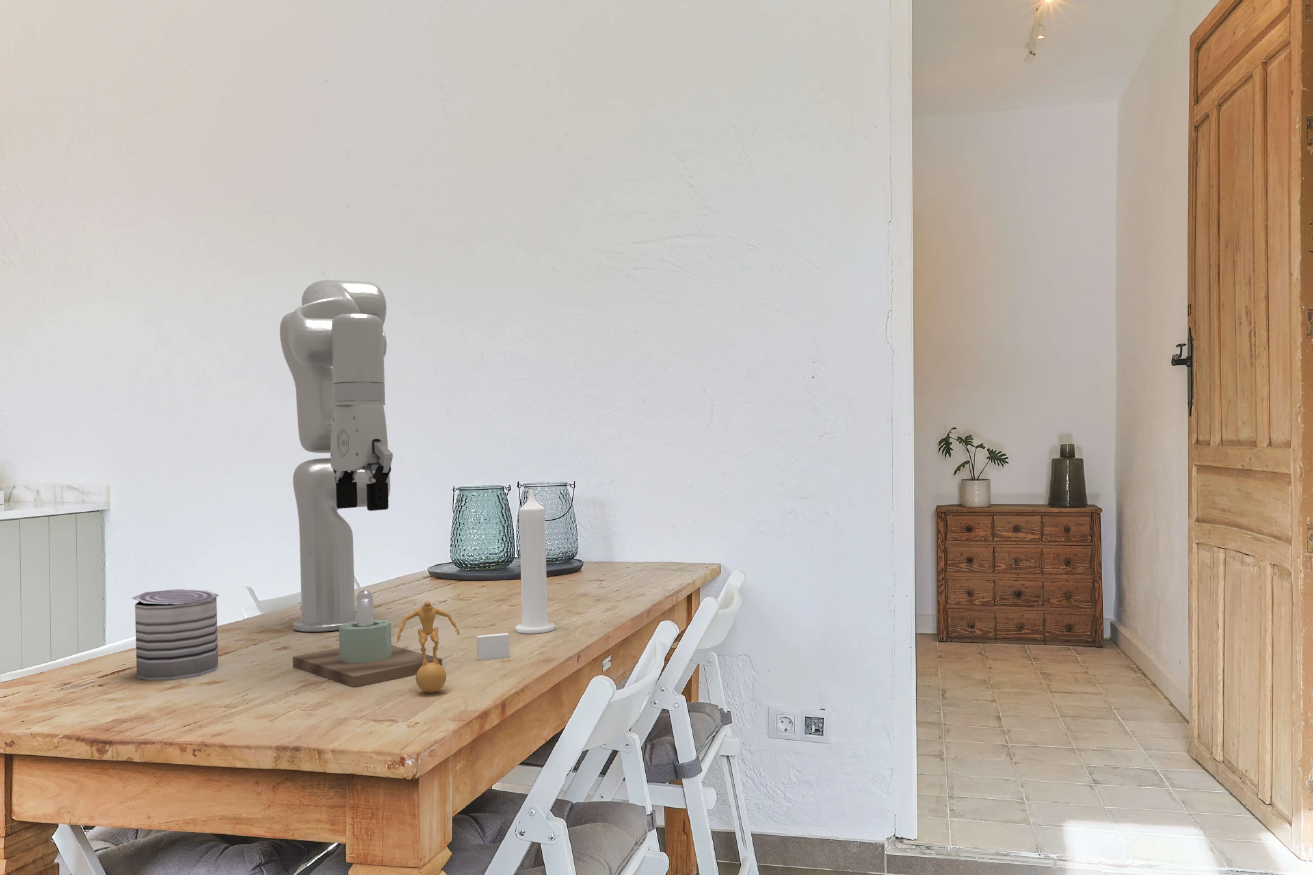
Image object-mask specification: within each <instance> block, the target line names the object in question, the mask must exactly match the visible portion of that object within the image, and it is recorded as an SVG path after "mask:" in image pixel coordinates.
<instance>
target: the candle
mask: <svg viewBox="0 0 1313 875" xmlns="http://www.w3.org/2000/svg"><path fill="white" fill-rule="evenodd" d="M518 514H519V516H518V517H519V518H518V519H519V522H518V523H519V550H520V551H519V553H520V557H519V558H520V587H521V591H520V592H521V622H522V623H519V624H517V625H515V627H514V629H515V630H514V631H515V632H516V633H519V634H528V635H529V634H531V635H534V634H545V633H550V632H552V631H555V629H556V625H555V623H553V622H549V619H548V617H549V616H548V588H547V587H548V585H547V583H548V581H547V555H546V554H547V552H546V550H547V548H546V513H545V507H544V506H542V505H541V504H540V503H538V502H537V500H536V497H535V495H534V490H533V489H530V490H529V493H528V498H527V501H526V503H524V504H523V505H522V506H521V507H519V509H518Z"/></svg>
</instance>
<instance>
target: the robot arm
mask: <svg viewBox="0 0 1313 875" xmlns="http://www.w3.org/2000/svg"><path fill="white" fill-rule="evenodd" d="M386 316H387V302H386V297H385V294H384V292H383V290H382V289H381V288H380V287H379V286H378V285H377V284H376V283H373V282H369V281H357V280H356V281H355V280H352V281H351V280H336V279H335V280H333V279H331V280H330V279H327V280H325V279H324V280H323V279H322V280H318V281H315V282H312V283H311V284H309V285H308V286H307V287H306V288H305V290H304V291H303V293H302V297H301V305H300V306H298V307H297V308H296V309H295V310H294V311H291V312H289V313H287V314H285V315H283V317H282V319H281V321H280V325H279V339H280V345H281V350H282V353H283V358H284V360H285V361H286V362H285V363H286V364H287V366H288V368H289V371H290V373H291V376H292V379H293V382H294V386H295V387H294V388H295V398H296V415H297V430H298V437H299V442H300V445H301V447H302V448H303V449H304V450H305V451H307V452H309V453H314V454H315V453H316V454H330V457H325V458H324V457H323V458H312V459H309V460H306V461H303V462H301V463H300V464H298V465H297V467H295V469H294V472H293V476H292V487H293V492H294V497H295V502H296V509H297V516H298V527H299V528H298V531H299V533H298V534H299V560H300V562H299V563H300V564H299V565H300V598H301V599H300V600H301V601H300V603H301V605H300V606H299V607H300V610H301V618H300V619H297V620H294V621H293V623H292V628H293V629H294V630H295V631H298V632H307V633H308V632H309V633H310V632H312V633H314V632H315V633H316V632H330V631H339V627H340V626H341V625H343V624H345V623H351V622H357V613H356V606H355V603H356V602H355V601H356V600H355V599H356V598H355V566H354V562H355V560H354V558H355V557H354V536H353V534H354V533H353V530H352V528H351V526H350V524H349V523H348V522H347V521H346V519H345V518H344V517H342V515H341V514H340V513H339V512H338V510H341V509H353V508H364V507H366V510H367V511H369V512H372V511H374V512H376V511H383V510H384V511H385V510H388V509H389V504H390V503H389V497H390V493H391V476H390V475H391V471H392V462H393V458H394V456H393V452H392V451H391V450H390V449H389V445H388V429H387V420H386V413H385V412H386V411H385V408H384V406H386V389H385V388H386V386H385V384H386V383H385V357H386V354H387V347H388V345H387V335H386V333H385V331H384V324H385V321H386Z"/></svg>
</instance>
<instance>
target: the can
mask: <svg viewBox="0 0 1313 875" xmlns="http://www.w3.org/2000/svg"><path fill="white" fill-rule="evenodd" d="M219 596H220V594H218V593H215V592H211V591H209V590H207V589H206V590H205V589H204V590H203V589H200V590H199V589H178V588H177V589H176V588H175V589H167V590H166V589H165V590H156V591H155V590H154V591H145V592H143V593H140V594H138V595H136V596H133V597H132V599H133V600H136V601H138V602H136V603H135V604H134V613H135V618H134V619H135V652H136V653H135V654H136V655H135V656H136V657H135V658H136V660H135V661H136V679H139V680H144V681H146V682H147V681H148V682H151V681H152V682H153V681H154V682H155V681H157V682H158V681H174V680H175V681H176V680H181V679H189V678H195V677H200V676H203V675H206V674H209V673H212V672H215V671H216V670H217V669H218V667H219V644H218V639H219V638H218V608H217V607H218V606H217V605H218V604H217V598H218V597H219Z"/></svg>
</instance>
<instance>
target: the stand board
mask: <svg viewBox="0 0 1313 875" xmlns="http://www.w3.org/2000/svg"><path fill="white" fill-rule="evenodd" d="M426 659H427V662H428V663H430V662H433V655H431V654H426ZM437 661H438V663H439V664H440V665H441V666H442V667H443V658H441V657H438V656H437ZM422 664H423V657H422V652H418V651H414V650H411V649H406V648H403V647H399V646H395V645H392V655H391V656H390V657H388V658H387V659H384V660H379V661H374V662H369V663H347V662H343V661H340V653H339V647H337V648H333V649H326V650H321V651H316V652H310V653H306V654H299V655H294V656H292V667H294V668H297V669H300V670H303V671H306V672H308V673H312V674H315V675H317V676H319V677H324V678H326V679H329V680H331V681H335V682H337V683H341V684H343V685H346V686H349V687H352V688H357V687H358V688H359V687H362V686H366V685H367V686H368V685H371V684H375V683H381V682H386V681H391V680H396V679H400V678H405V677H411V676H414V675H415V676H416V674H417V671H418V670H419V668H420V667H421V666H422Z"/></svg>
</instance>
